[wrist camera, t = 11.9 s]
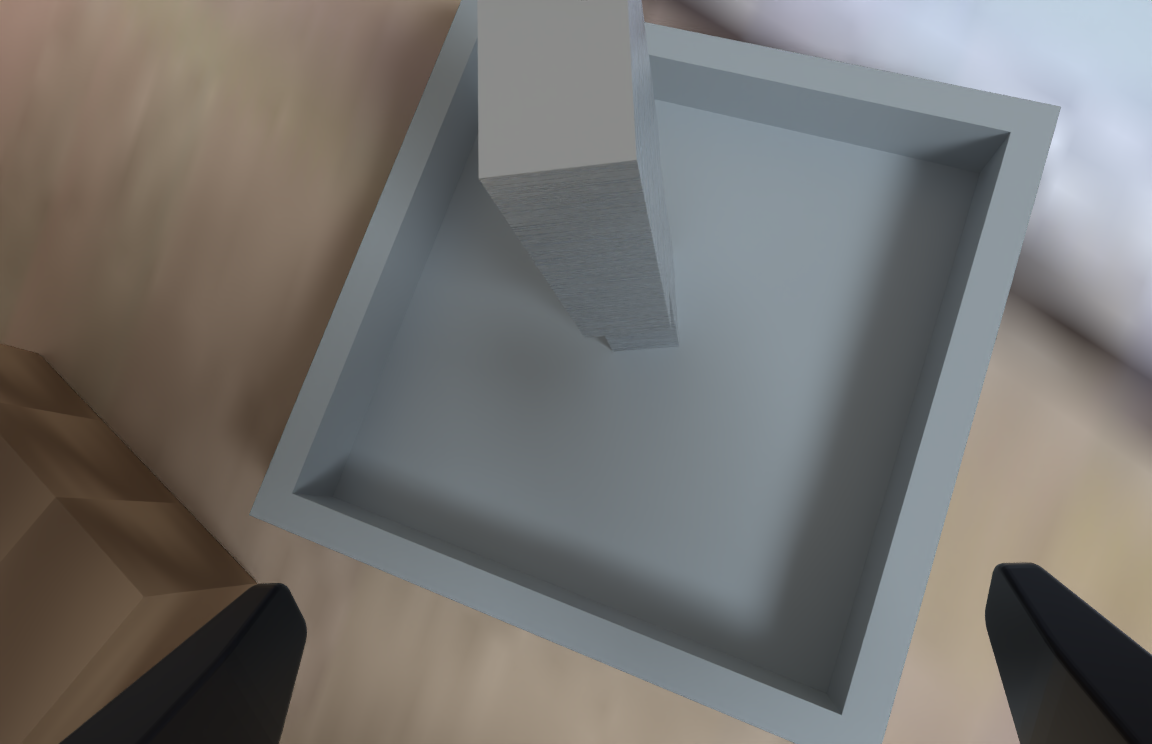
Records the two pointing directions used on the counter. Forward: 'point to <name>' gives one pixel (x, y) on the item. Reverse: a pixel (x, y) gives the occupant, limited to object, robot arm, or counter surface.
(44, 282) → the counter surface
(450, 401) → the tray
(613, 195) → the grey rectangular block
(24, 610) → the socket
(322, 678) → the counter surface
